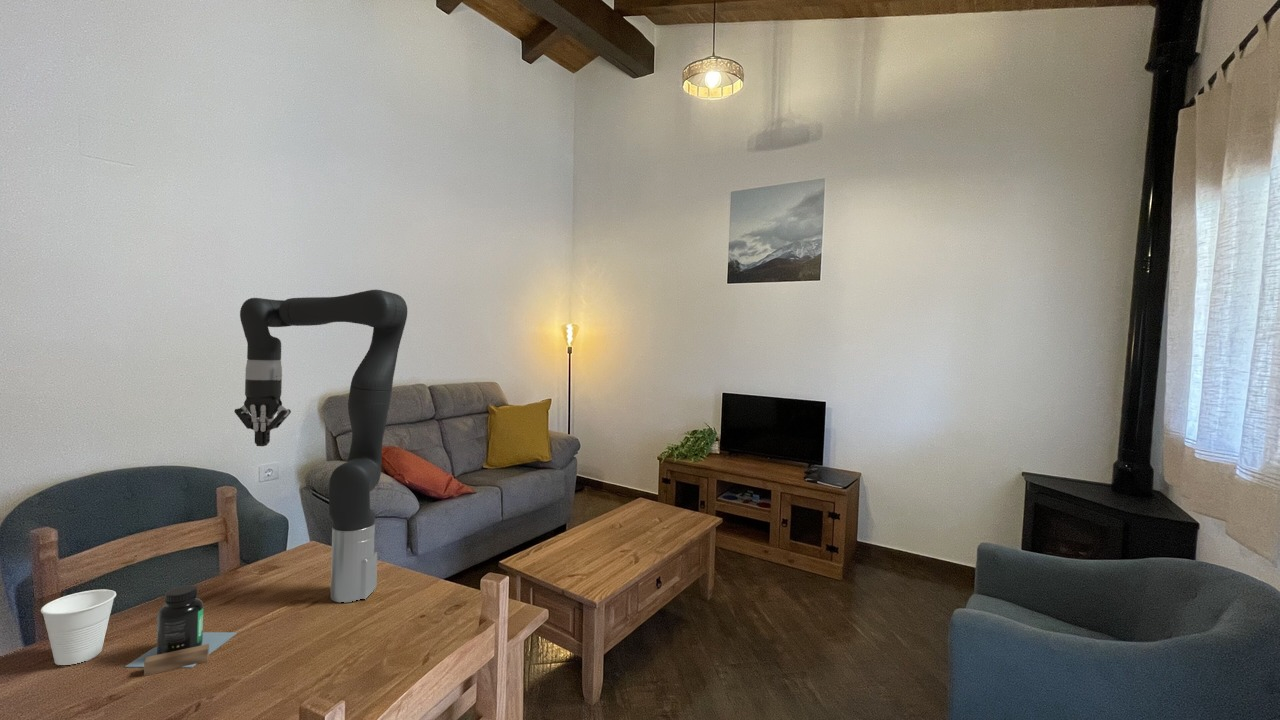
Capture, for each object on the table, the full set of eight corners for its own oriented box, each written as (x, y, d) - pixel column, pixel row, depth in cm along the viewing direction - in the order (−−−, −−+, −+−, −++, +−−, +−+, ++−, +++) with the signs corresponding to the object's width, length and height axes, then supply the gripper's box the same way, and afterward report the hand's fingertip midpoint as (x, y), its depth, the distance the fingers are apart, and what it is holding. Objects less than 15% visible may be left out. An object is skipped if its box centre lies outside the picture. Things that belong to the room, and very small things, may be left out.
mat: (237, 633, 111) (237, 632, 111) (191, 667, 99) (192, 666, 99) (177, 632, 110) (177, 632, 110) (124, 667, 98) (124, 666, 98)
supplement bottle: (211, 644, 107) (212, 585, 106) (173, 663, 100) (175, 600, 100) (185, 638, 108) (187, 580, 108) (147, 656, 102) (148, 595, 101)
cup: (65, 677, 95) (66, 617, 95) (24, 668, 97) (25, 609, 97) (128, 647, 105) (130, 592, 104) (90, 640, 107) (91, 586, 106)
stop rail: (208, 656, 103) (209, 643, 103) (207, 661, 101) (207, 648, 101) (146, 670, 98) (146, 657, 98) (143, 676, 96) (144, 662, 96)
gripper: (225, 377, 129) (224, 447, 130) (281, 379, 130) (279, 449, 130) (246, 376, 137) (245, 442, 137) (299, 377, 138) (297, 443, 138)
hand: (262, 445), depth 134 cm, fingers closed
